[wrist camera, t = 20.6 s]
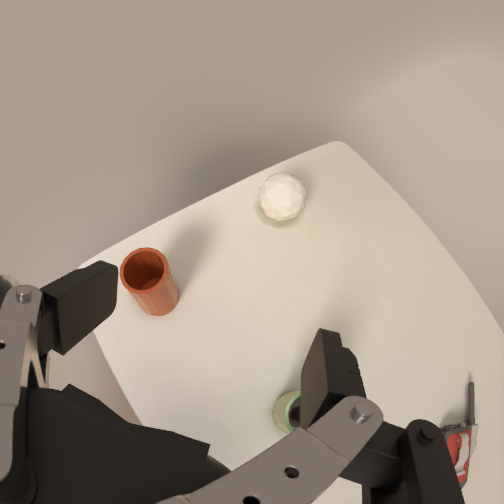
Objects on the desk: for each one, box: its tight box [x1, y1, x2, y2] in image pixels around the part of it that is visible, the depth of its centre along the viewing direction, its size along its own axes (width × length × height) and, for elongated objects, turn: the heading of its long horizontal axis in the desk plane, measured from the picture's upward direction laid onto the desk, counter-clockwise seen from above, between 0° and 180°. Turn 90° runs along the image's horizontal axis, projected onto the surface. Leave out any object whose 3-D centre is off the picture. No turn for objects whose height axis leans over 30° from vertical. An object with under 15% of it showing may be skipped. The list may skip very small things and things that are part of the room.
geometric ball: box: [259, 173, 306, 221], centre depth 48 cm, size 8×8×8 cm
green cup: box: [273, 390, 301, 434], centre depth 32 cm, size 6×6×9 cm
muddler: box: [288, 400, 301, 427], centre depth 28 cm, size 4×4×16 cm
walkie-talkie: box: [442, 382, 478, 489], centre depth 31 cm, size 9×4×20 cm
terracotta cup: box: [120, 247, 179, 316], centre depth 39 cm, size 6×6×9 cm
